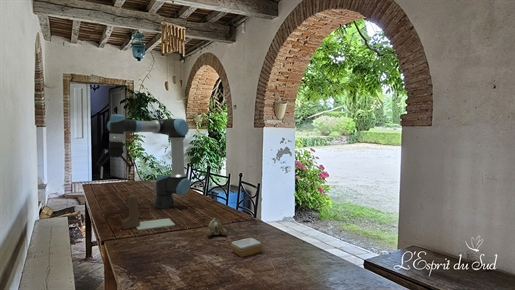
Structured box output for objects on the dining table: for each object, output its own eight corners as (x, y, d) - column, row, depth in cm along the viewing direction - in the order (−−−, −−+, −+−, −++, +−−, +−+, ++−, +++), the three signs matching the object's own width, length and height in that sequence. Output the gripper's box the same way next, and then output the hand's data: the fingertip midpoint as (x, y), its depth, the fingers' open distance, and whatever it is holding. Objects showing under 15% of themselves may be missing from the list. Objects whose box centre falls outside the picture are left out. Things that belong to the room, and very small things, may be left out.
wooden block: (123, 229, 184) (120, 198, 183) (122, 227, 188) (119, 197, 187) (140, 226, 189) (137, 195, 187) (138, 224, 193) (135, 194, 191)
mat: (168, 219, 206) (168, 218, 206) (175, 225, 193) (175, 224, 193) (134, 223, 196) (133, 222, 196) (137, 230, 183) (137, 229, 183)
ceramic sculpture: (224, 214, 186) (227, 223, 172) (224, 229, 187) (227, 239, 173) (205, 215, 184) (207, 224, 169) (205, 230, 185) (207, 240, 170)
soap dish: (251, 246, 160) (251, 236, 160) (263, 253, 152) (263, 242, 152) (229, 252, 153) (229, 241, 153) (240, 258, 145) (240, 247, 145)
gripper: (91, 140, 179) (89, 178, 179) (139, 142, 188) (137, 178, 188) (92, 140, 186) (91, 177, 186) (139, 142, 195) (137, 177, 195)
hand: (114, 178), depth 187 cm, fingers open, 13 cm apart
